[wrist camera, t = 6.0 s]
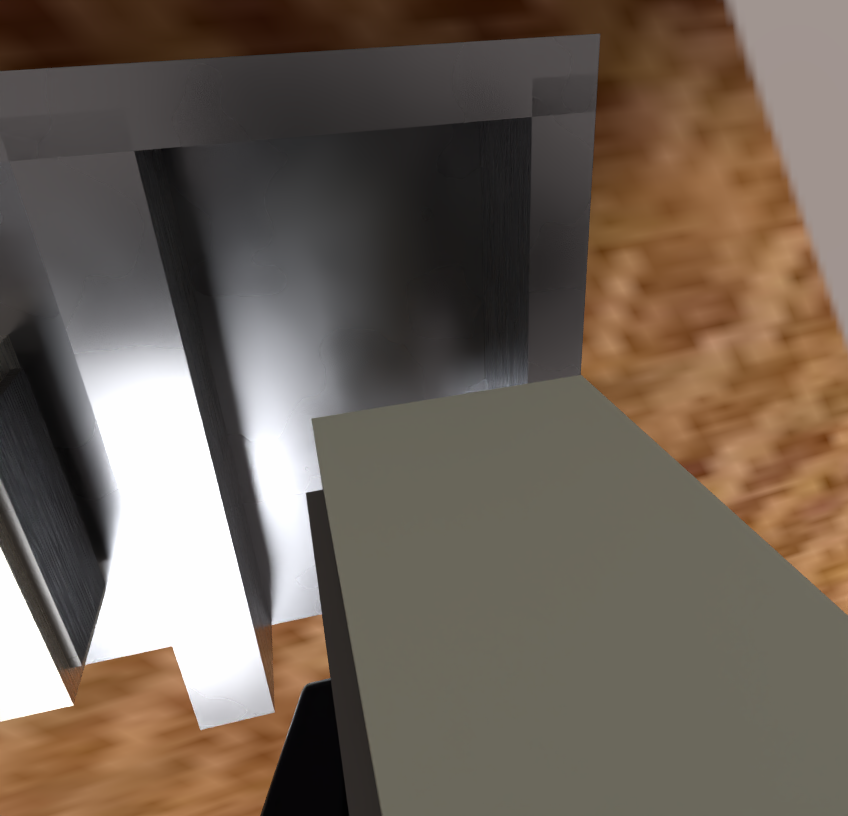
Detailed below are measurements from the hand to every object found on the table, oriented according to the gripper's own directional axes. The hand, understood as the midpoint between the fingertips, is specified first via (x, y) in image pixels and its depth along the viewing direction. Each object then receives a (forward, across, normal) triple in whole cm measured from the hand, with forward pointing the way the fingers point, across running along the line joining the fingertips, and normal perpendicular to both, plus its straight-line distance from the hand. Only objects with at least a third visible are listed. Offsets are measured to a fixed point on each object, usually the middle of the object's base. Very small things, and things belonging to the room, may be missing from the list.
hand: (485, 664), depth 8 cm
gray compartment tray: (+8, +4, -1) cm, 9 cm away
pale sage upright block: (+2, 0, 0) cm, 2 cm away
